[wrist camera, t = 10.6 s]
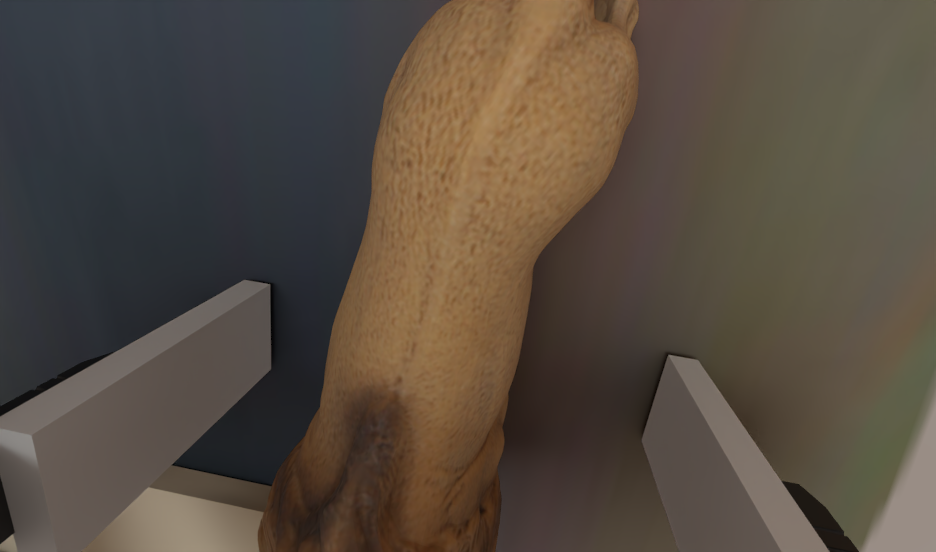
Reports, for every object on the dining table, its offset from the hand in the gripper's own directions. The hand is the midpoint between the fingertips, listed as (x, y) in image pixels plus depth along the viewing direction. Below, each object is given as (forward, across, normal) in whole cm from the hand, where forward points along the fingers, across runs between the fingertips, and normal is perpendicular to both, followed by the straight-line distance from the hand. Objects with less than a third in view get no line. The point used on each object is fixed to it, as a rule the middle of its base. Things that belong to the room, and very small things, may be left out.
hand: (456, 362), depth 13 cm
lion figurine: (0, 0, +3) cm, 3 cm away
